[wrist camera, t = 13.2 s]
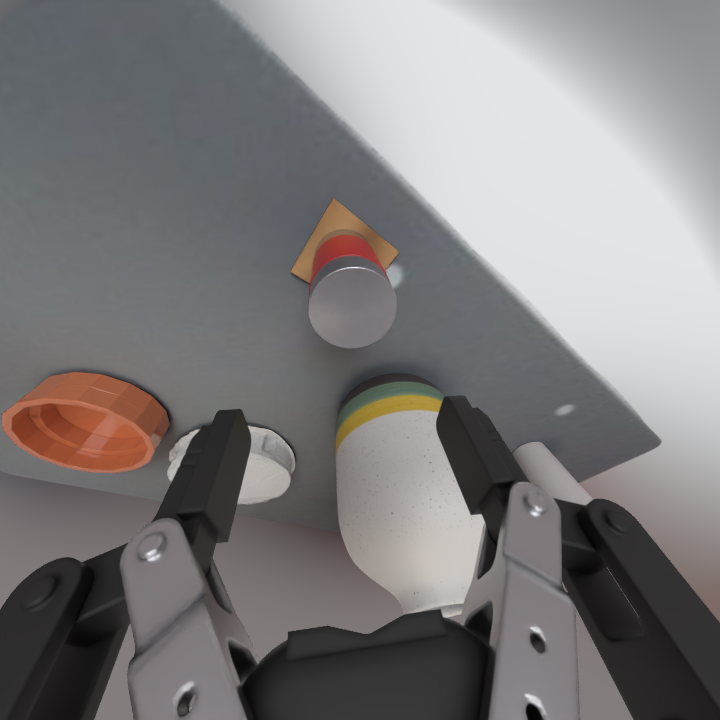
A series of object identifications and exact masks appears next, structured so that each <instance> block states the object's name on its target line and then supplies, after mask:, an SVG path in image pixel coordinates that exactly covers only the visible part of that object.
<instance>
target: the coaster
mask: <svg viewBox="0 0 720 720" xmlns="http://www.w3.org/2000/svg"><path fill="white" fill-rule="evenodd" d="M339 229H349V230H353V231H356V232H358V233H360V234H361V235H363V236H364V237H365V238H366V239H367V240H368V242H369V243H370V245H371V247H372V248H373V250H374V251H375V253H376V255H377V257H378V259H379V261H380V263H381V265H382V267H383V269H384V271H385V270H386V268H387V267H388V266H389V264H390V263H391V262H392V261H393V259H394V258H395V257H396V255H397V254H398V253H399V251H398V250H397V249H395V248H394V247H393V246H392V245H390V244H389V243H388V242H387V241H386V240H384V239H383V238H382V237H381V236H379V235H378V234H377V233H376V232H375V231H373V230H372V229H371V228H370V227H368V226H367V225H366V224H365V223H364V222H362V221H361V220H360V219H359V218H357V217H356V216H355V215H354V214H353V213H351V212H350V211H349V210H348V209H347V208H345V207H344V206H343V205H342V204H340V203H339V202H338V201H337V200H336V199H334V198H333V199H332V201H331V203H330V204H329V206H328V208H327V209H326V211H325V213H324V215H323V216H322V218H321V220H320V221H319V223H318V225H317V227H316V228H315V230H314V232H313V233H312V235H311V237H310V239H309V240H308V242H307V244H306V245H305V247H304V249H303V251H302V252H301V254H300V256H299V257H298V259H297V261H296V263H295V264H294V266H293V268H292V270H291V272H292V273H293V274H295V275H297V276H298V277H300V278H301V279H303V280H305V281H306V282H308V283H309V284H310V280H311V272H312V264H313V259H314V253H315V250H316V247H317V245H318V243H319V242H320V241H321V239H322V238H323V237H324V236H326V235H327V234H328V233H330V232H332V231H335V230H339Z"/></svg>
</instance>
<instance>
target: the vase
mask: <svg viewBox="0 0 720 720" xmlns="http://www.w3.org/2000/svg"><path fill="white" fill-rule="evenodd" d="M444 397H445V395H444V394H443V393H442V392H441V391H440V390H439V389H438V388H437V387H435V386H434V385H433V384H432V383H430V382H428V381H427V380H425V379H423V378H420V377H417V376H414V375H410V374H387V375H382V376H378V377H375V378H372V379H370V380H368V381H366V382H364V383H362V384H361V385H359V386H358V387H356V388H355V389H354V390H353V391H352V392H351V393H350V394H349V395H348V396H347V398H346V399H345V401H344V402H343V404H342V406H341V408H340V411H339V413H338V417H337V421H336V433H335V442H336V479H337V506H338V518H339V526H340V530H341V534H342V538H343V541H344V543H345V546H346V548H347V550H348V553H349V555H350V556H351V558H352V560H353V561H354V563H355V564H356V565H357V566H358V567H359V568H360V569H361V570H362V571H363V572H364V573H365V574H366V575H367V576H369V577H370V578H371V579H373V580H374V581H375V582H377V583H378V584H380V585H381V586H382V587H384V588H385V589H387V590H388V591H389V592H390V593H392V594H393V595H394V596H395V597H396V598H397V599H398V601H399V603H400V605H401V608H402V610H403V614H409V613H416V612H422V611H429V610H436V609H441V612H442V615H443V617H445V618H446V617H451V616H455V615H458V614H461V613H462V608H463V604H464V600H465V597H466V594H467V591H468V589H469V587H470V585H471V582H472V578H473V574H474V569H475V564H476V559H477V554H478V549H479V544H480V539H481V534H482V529H483V525H484V523H485V521H484V519H483V517H482V514H478V515H470V512H469V510H468V507H467V505H466V503H465V500H464V498H463V495H462V493H461V490H460V488H459V485H458V483H457V481H456V478H455V476H454V473H453V471H452V468H451V466H450V464H449V461H448V459H447V456H446V454H445V451H444V449H443V446H442V444H441V442H440V439H439V437H438V434H437V430H436V420H437V416H438V413H439V410H440V407H441V404H442V401H443V398H444Z"/></svg>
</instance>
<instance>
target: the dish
mask: <svg viewBox="0 0 720 720" xmlns="http://www.w3.org/2000/svg"><path fill="white" fill-rule="evenodd" d="M169 426H170V423H169V419H168V416H167V412H166V410H165V409H164V408H163V407H162V406H161V405H160V404H159V403H158V402H157V400H156V399H155V398H154V397H152V396H151V395H149V394H147V393H146V392H144V391H142V390H141V389H139V388H137V387H136V386H134V385H132V384H130V383H127V382H124V381H121V380H118V379H115V378H112V377H109V376H105V375H102V374H92V373H82V372H71V373H65V374H59V375H54V376H50V377H48V378H47V379H46V380H44V381H43V382H42V383H41V384H39V385H38V386H37V387H36V388H34V389H33V390H32V391H30V392H29V393H28V394H27V395H25V396H24V397H23V398H22V399H20V400H19V401H18V402H17V403H15V404H14V405H13V406H12V407H10V408H9V409H8V410H7V411H5V412H4V413H3V414H2V428H3V430H4V431H5V433H6V434H7V435H8V436H9V437H10V438H11V440H12V441H13V442H14V443H15V445H17V446H19V447H20V448H22V449H24V450H25V451H27V452H29V453H30V454H32V455H33V456H35V457H37V458H40V459H43V460H45V461H48V462H51V463H54V464H56V465H59V466H62V467H65V468H70V469H75V470H81V471H86V472H95V473H118V472H124V471H129V470H135V469H137V468H139V467H141V466H143V465H145V464H146V463H148V462H150V460H151V458H152V457H153V455H154V453H155V451H156V450H157V448H158V446H159V444H160V443H161V441H162V439H163V438H164V436H165V434H166V432H167V430H168V428H169Z"/></svg>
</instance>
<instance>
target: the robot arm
mask: <svg viewBox="0 0 720 720" xmlns="http://www.w3.org/2000/svg"><path fill="white" fill-rule="evenodd" d="M436 430H437V434H438V437H439V439H440V442H441V444H442V446H443V449H444V451H445V454H446V456H447V459H448V461H449V464H450V466H451V468H452V471H453V473H454V476H455V478H456V481H457V483H458V485H459V488H460V490H461V493H462V495H463V498H464V500H465V503H466V505H467V507H468V510H469V512H470V515H478V514H482V517H483V519H484V521H485V523H484V525H483V529H482V534H481V539H480V544H479V549H478V554H477V559H476V564H475V569H474V574H473V578H472V582H471V585H470V587H469V589H468V591H467V594H466V597H465V600H464V604H463V608H462V613H461V618H460V623H458V622H456V621H453V620H451V619H448V618H445V617H443V615H442V612H441V609H436V610H429V611H422V612H416V613H409V614H404V615H403V616H401V617H399V618H397V619H395V620H394V621H392V622H390V623H388V624H387V625H385V626H383V627H381V628H380V629H378V630H376V631H374V632H372V633H370V634H362V633H357V632H353V631H348V630H343V629H339V628H335V627H330V626H323V627H317V628H310V629H304V630H297V631H291V632H288V640H286V641H285V642H283V643H281V644H280V645H279V646H277V647H276V648H274V649H273V650H272V651H271V652H270V653H268V654H267V655H266V656H265V657H264V658H263V659H262V660H261V661H260V660H259V658H258V655H257V653H256V651H255V648H254V646H253V644H252V642H251V639H250V637H249V635H248V633H247V631H246V629H245V627H244V626H243V624H242V622H241V621H240V619H239V618H238V616H237V614H236V612H235V610H234V608H233V605H232V603H231V600H230V598H229V596H228V593H227V591H226V589H225V586H224V584H223V582H222V579H221V577H220V575H219V572H218V570H217V568H216V565H215V563H214V560H213V558H212V557H213V553H214V549H215V546H216V543H222V542H228V539H229V535H230V531H231V526H232V523H233V519H234V515H235V510H236V506H237V502H238V498H239V494H240V490H241V486H242V482H243V478H244V474H245V470H246V466H247V461H248V457H249V453H250V449H251V433H250V431H249V428H248V425H247V422H246V420H245V417H244V414H243V412H242V410H241V409H233V410H219V411H218V412H217V413H216V415H215V418H214V420H213V423H212V425H209V426H203V427H202V428H201V429H200V430H199V431H198V432H197V433H196V434H195V435H194V436H193V438H192V439H191V441H190V443H189V445H188V448H187V450H186V452H185V453H186V454H185V455H184V456H183V458H182V461H181V463H180V467H178V469H177V471H176V474H175V476H174V478H173V480H172V482H171V485H170V487H169V489H168V491H167V493H166V495H165V498H164V500H163V502H162V504H161V506H160V508H159V511H158V513H157V514H156V516H155V518H154V519H153V521H152V522H151V523H150V524H148V525H146V526H145V527H143V528H142V529H141V530H140V531H139V532H137V533H136V534H135V535H134V536H133V537H132V539H131V540H130V541H129V542H128V543H126V544H124V545H122V546H120V547H118V548H115V549H113V550H110V551H108V552H106V553H103V554H101V555H99V556H96V557H94V558H92V559H89V560H87V561H85V562H80V561H78V560H76V559H74V558H69V557H66V558H60V559H56V560H54V561H51V562H49V563H47V564H45V565H43V566H42V567H41V568H39V569H37V570H36V571H34V572H33V573H32V574H30V575H29V576H28V577H27V578H26V579H24V580H23V581H22V582H21V583H20V584H19V585H18V586H17V587H16V589H15V590H14V591H13V592H12V593H11V595H10V596H9V598H8V599H7V600H6V602H5V603H4V605H3V606H2V608H1V610H0V720H94V718H95V716H96V713H97V710H98V708H99V705H100V702H101V699H102V696H103V694H104V691H105V689H106V686H107V683H108V680H109V678H110V675H111V672H112V669H113V667H114V664H115V661H116V658H117V656H118V653H119V650H120V648H121V645H122V642H123V640H124V637H125V634H126V631H127V628H128V626H129V624H131V627H132V632H133V637H134V642H135V654H134V657H133V658H132V659H131V661H130V663H129V666H128V675H127V676H128V677H127V679H128V688H129V694H130V700H131V705H132V712H133V718H134V720H580V706H579V681H578V658H577V636H576V635H577V634H576V615H575V607H576V609H577V610H578V612H579V614H580V616H581V618H582V620H583V622H584V624H585V626H586V628H587V630H588V631H589V634H590V636H591V638H592V640H593V642H594V643H595V645H596V647H597V649H598V651H599V653H600V655H601V657H602V659H603V661H604V663H605V665H606V667H607V669H608V671H609V673H610V674H611V677H612V678H613V680H614V682H615V684H616V686H617V688H618V690H619V692H620V694H621V696H622V698H623V700H624V702H625V704H626V706H627V708H628V710H629V711H630V714H631V715H632V717H633V719H634V720H720V623H719V621H718V620H717V619H716V618H715V616H714V615H713V614H712V613H711V612H710V610H709V609H708V608H707V606H706V605H705V604H704V603H703V601H701V599H700V598H699V597H698V595H697V594H696V593H695V592H694V590H693V589H692V588H691V587H690V585H689V584H688V583H687V582H686V580H685V579H684V578H683V577H682V575H681V574H680V573H679V572H678V571H677V569H676V568H675V567H674V565H673V564H672V563H671V562H670V560H669V559H668V558H667V557H666V556H665V554H664V553H663V552H662V551H661V549H660V548H659V547H658V546H657V544H656V543H655V542H654V541H653V539H652V538H651V537H650V536H649V534H648V533H647V532H646V531H645V530H644V528H643V527H642V526H641V524H640V523H639V522H638V521H637V520H636V519H635V517H634V516H632V515H631V514H630V513H629V512H628V511H627V510H625V509H624V508H623V507H621V506H619V505H618V504H616V503H613V502H611V501H609V500H605V499H594V500H592V501H591V502H589V503H588V504H587V505H586V506H585V505H581V504H577V503H573V502H568V501H564V500H560V499H556V498H553V497H552V496H551V495H550V494H549V493H548V492H547V491H545V490H544V489H543V488H541V487H540V486H538V485H536V484H533V483H531V482H530V481H529V480H528V478H527V477H526V476H525V474H524V472H523V471H522V469H521V468H520V466H519V464H518V463H517V461H516V460H515V458H514V457H513V455H512V453H511V452H510V450H509V449H508V447H507V445H506V444H505V442H504V441H502V438H501V436H500V434H499V433H498V431H496V428H495V426H494V425H493V423H492V422H491V420H490V419H489V417H488V416H487V415H486V414H484V413H483V412H482V411H481V410H480V409H479V408H472V407H471V405H470V403H469V402H468V400H467V398H466V397H465V396H447V397H444V398H443V401H442V404H441V407H440V410H439V413H438V416H437V420H436ZM607 568H608V569H609V570H608V569H607ZM609 571H610V572H611V574H612V575H613V577H614V578H615V580H616V581H615V580H614V579H613V577H612V575H611V574H610V572H609ZM562 581H563V583H564V585H565V587H566V589H567V591H568V593H567V592H566V591H565V590H564V588H563V585H562ZM616 582H617V583H618V585H619V586H620V588H621V589H622V591H623V592H622V591H621V589H620V588H619V586H618V585H617V583H616ZM623 593H624V594H625V595H626V597H627V599H628V600H629V602H630V603H631V605H632V606H631V605H630V603H629V602H628V600H627V599H626V597H625V596H624V594H623ZM574 605H575V606H574ZM632 607H633V608H634V609H635V611H636V613H637V614H638V616H639V617H638V616H637V614H636V613H635V611H634V610H633V608H632ZM639 618H640V619H639ZM640 620H641V621H640ZM189 707H193V708H192V709H191V711H190V712H189Z"/></svg>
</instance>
